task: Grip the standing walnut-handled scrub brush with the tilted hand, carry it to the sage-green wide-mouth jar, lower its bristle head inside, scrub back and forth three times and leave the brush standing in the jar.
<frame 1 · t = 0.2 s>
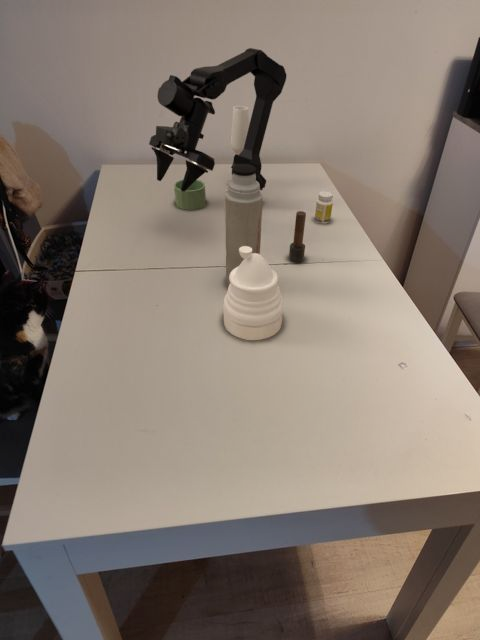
hand: (170, 185, 114), 15 cm above the table, tool tilted 35°, fingers open, 9 cm apart
thermos bottle: (242, 283, 109), on the table
supplement bottle: (322, 221, 136), on the table
jar: (190, 203, 141), on the table
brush: (296, 259, 119), on the table
honey pot: (252, 321, 98), on the table
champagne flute: (240, 184, 154), on the table
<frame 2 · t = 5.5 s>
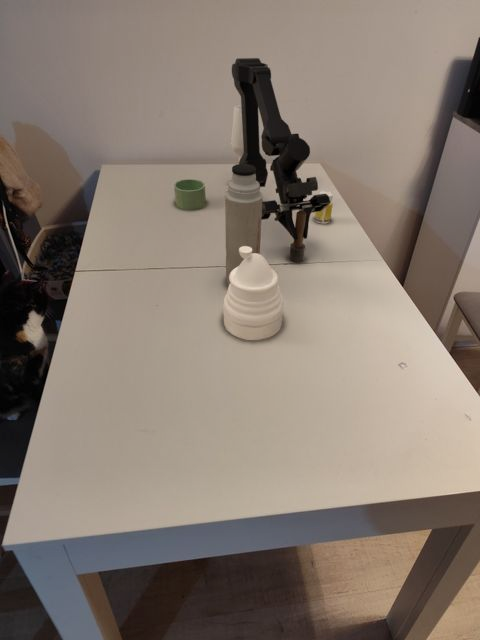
hand: (301, 239, 113), 7 cm above the table, tool tilted 45°, fingers closed on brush, 2 cm apart
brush: (296, 259, 119), on the table, touching gripper
everything else where it was.
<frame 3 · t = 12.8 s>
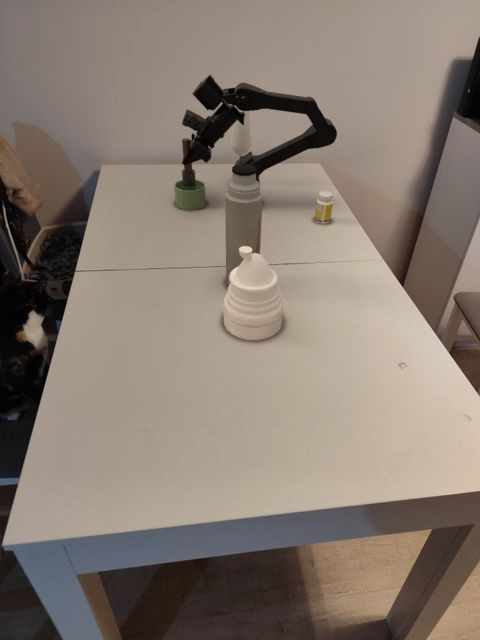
hand: (183, 162, 132), 13 cm above the table, tool tilted 45°, fingers closed on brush, 2 cm apart
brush: (189, 184, 137), point 6 cm above the table, touching gripper
everything else where it was.
when the fingers open (7 cm above the table, at t = 17.0 s): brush stays where it is, resting on jar.
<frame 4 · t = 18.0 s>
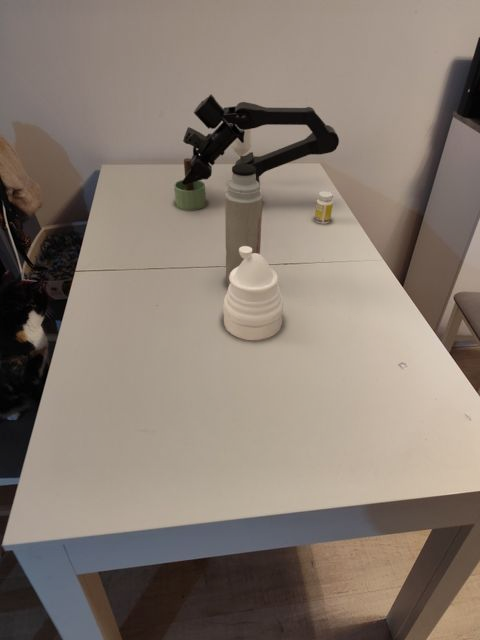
hand: (184, 177, 136), 8 cm above the table, tool tilted 45°, fingers open, 9 cm apart
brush: (190, 201, 141), point 1 cm above the table, touching jar
everything else where it was.
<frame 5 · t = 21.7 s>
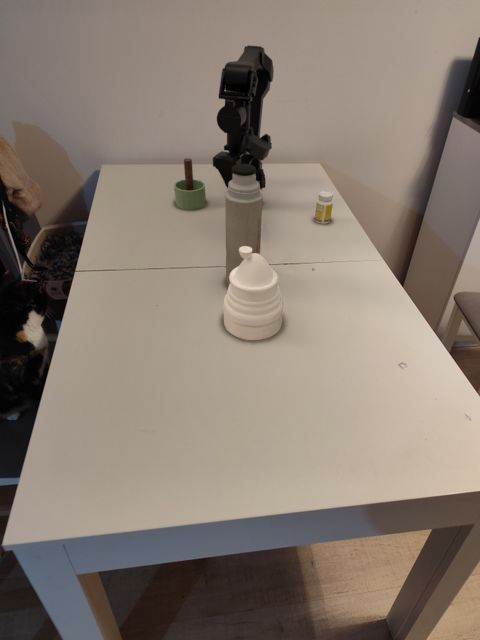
hand: (237, 186, 120), 13 cm above the table, tool pointing down, fingers open, 9 cm apart
nothing on the table moved.
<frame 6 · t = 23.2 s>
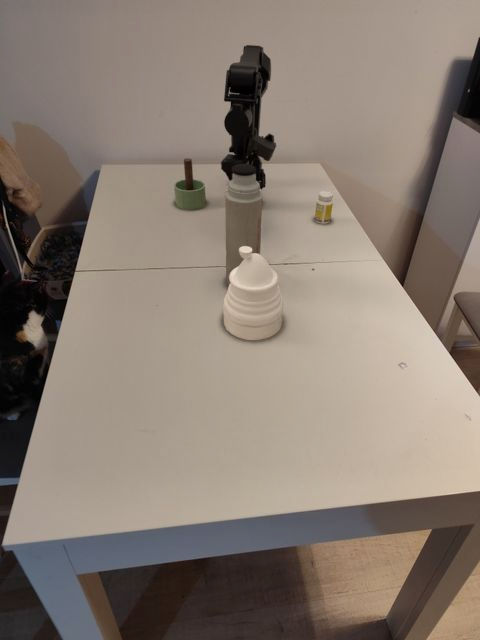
hand: (241, 186, 120), 13 cm above the table, tool pointing down, fingers open, 9 cm apart
nothing on the table moved.
at the end: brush 0.0 cm off-centre in the jar, point 0.6 cm above the jar's base; the gripper is holding nothing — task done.
